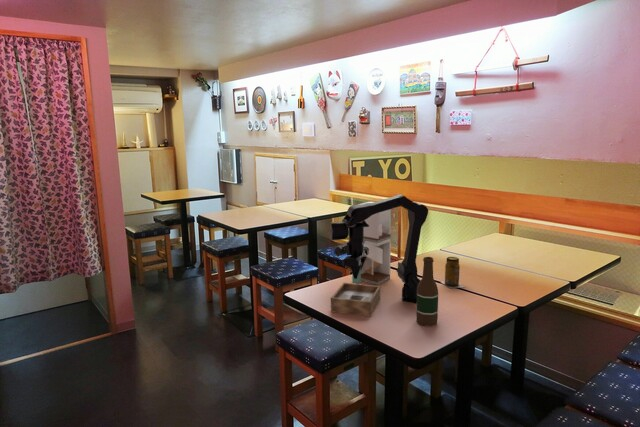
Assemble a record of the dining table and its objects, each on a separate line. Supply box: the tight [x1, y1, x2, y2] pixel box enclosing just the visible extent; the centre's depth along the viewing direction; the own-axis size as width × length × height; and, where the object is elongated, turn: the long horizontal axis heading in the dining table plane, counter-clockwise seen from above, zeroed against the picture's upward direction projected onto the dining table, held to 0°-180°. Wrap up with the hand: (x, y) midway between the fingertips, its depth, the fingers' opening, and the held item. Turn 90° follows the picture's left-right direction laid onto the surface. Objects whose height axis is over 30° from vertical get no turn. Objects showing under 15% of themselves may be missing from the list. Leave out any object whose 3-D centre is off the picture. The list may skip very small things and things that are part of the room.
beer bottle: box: [415, 256, 439, 327], centre depth 158 cm, size 8×8×24 cm
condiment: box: [440, 256, 465, 289], centre depth 196 cm, size 7×8×12 cm
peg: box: [351, 269, 362, 284], centre depth 174 cm, size 3×3×8 cm
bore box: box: [330, 282, 381, 317], centre depth 176 cm, size 16×18×6 cm
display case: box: [357, 201, 392, 286], centre depth 203 cm, size 11×11×35 cm
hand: (356, 277), depth 175 cm, fingers closed on peg, 3 cm apart
